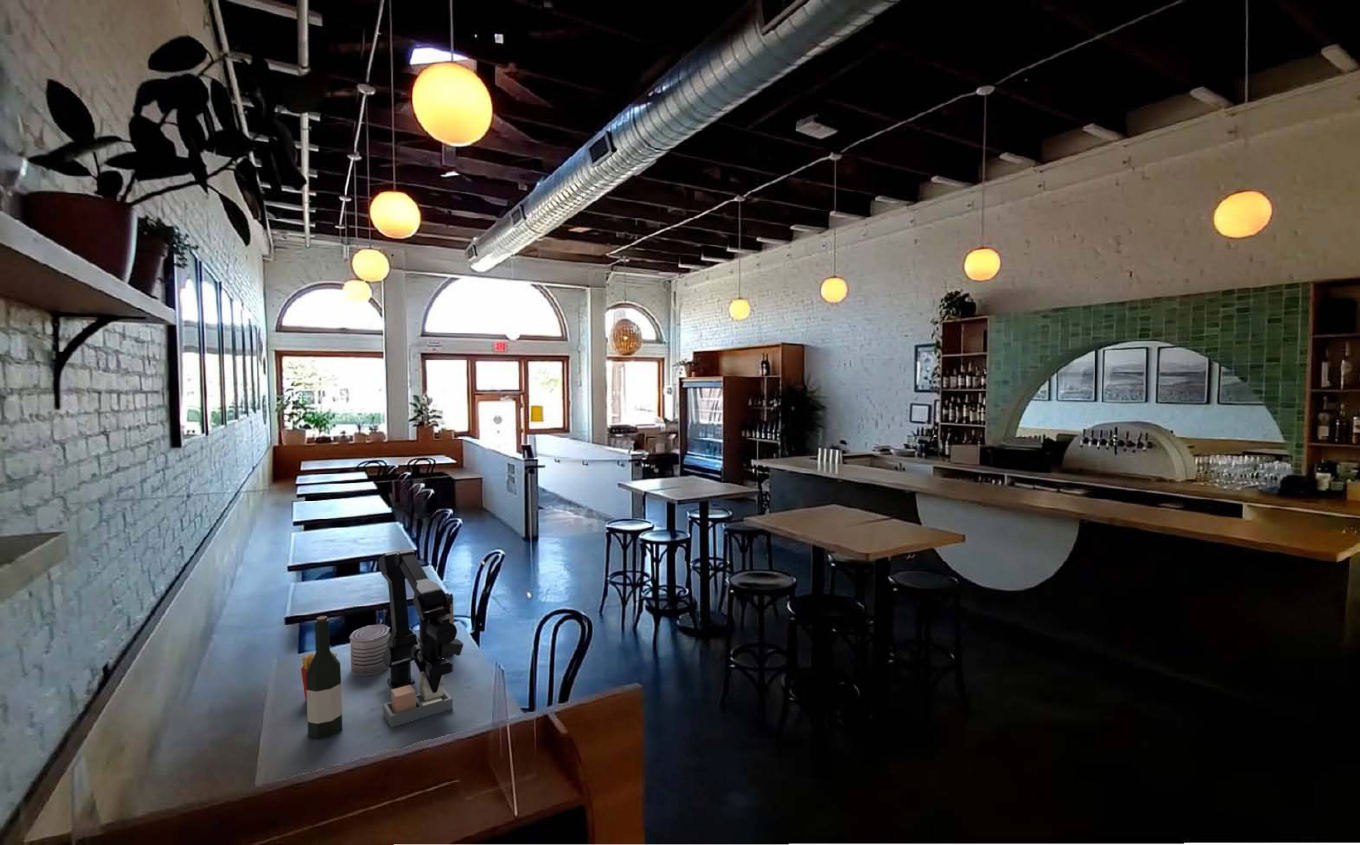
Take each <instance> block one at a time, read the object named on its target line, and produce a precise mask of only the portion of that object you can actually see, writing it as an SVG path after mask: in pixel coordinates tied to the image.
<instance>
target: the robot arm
mask: <svg viewBox="0 0 1360 845" xmlns="http://www.w3.org/2000/svg"><path fill="white" fill-rule="evenodd" d="M378 568H379V570H380V574H381V576H382V577H383V578H384V579H385V580H386V581H387V585H388V586H387V587H388V596H389V609H390V610H389V611H390V618H391V620H390V621H391V628H392V629H391V632H390V636H389V638H388V641H387V649H386V651H385V653H384V655H383V663H384V664H385V665H386V666H387V667H388V668H387V669H389V671H390V672H389V673H390V677H389V678H387V680H386V681H387V683H388V684H389V685H390V687H391V688H392V689H396V688H400V687H403V686H407V685H411V684H414V683H415V682H416V681H415V679H414V678H413V675H412V666H411V665H412V662H413V661H414V662H415V663H414V664H415V665H416V667H417V669H418V670H419V672H423V671H424V674H425V676H426V679H427V681H428V683H429V686H430V688H431V690H432V692H433V693H436V692H437V690H438V687H439V683H440V680H441V677H442V675H443V676H445V675H447V674H451V673H453V672H454V666H453V664H452V662H451V661H450V660H449V659H448V658H444V659H440V657H444V656H446V654H453V655H454V656H461V654H462V651H463V648H464V643H463V641H461V640H460V639H458V638H456V637H457V634H458V630H457V629H458V628H457V627H456V625H455V623H454V624H452V623H451V622H450V619H449V618H448V617H446V615H447V614H451V611H450V607H451V606H450V604H449V601H448V599H447V596H446V594H447V593H446V592H445V591H444V590H443V588H442V587H441V586H440V585H439V584H438V583H437V582H435V581H432V580H430V579H429V577H428V575H427V574H426V572H425V570H424V569H423V567H422V565H421V564H420V563H419V560H418V559H417V555H416V552H415V550H412V549H407V550H405V549H401V550H396V551H390V552H385V553H384V552H383V553H382V554H381V557H379V558H378ZM406 581H407V582H408V584H409V585H410V587H411V589H412V591H413V593H414V594H413V599H412V602H413V605H414V608H415V611H416V614H417V616H418V623H419V624H418V625H419V632H418V633H419V636H417V634H416V633H414V632H413V630H411V629H410V621H409V620H410V619H409V618H410V617H409V610H408V609H409V608H408V607H409V606H408V598H407V587H406ZM442 606H443V609H439V610H435V611H433V610H434V609H438V608H441V607H442Z"/></svg>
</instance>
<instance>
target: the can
mask: <svg viewBox="0 0 1360 845" xmlns="http://www.w3.org/2000/svg"><path fill="white" fill-rule="evenodd" d="M390 629H391V627H390V626H387V625H386V624H384V623H383V624H381V623H380V624H370V625H366V626H362V627H360V628H358V629H355V630H354V631H353V632H351V634H350V635H349V637H348V638H349V639H350V640H349V641H350V642H349V643H350V670H351V673H352V672H353V673H352V674H353V676H360V675H362V676H363V677H365V675H366V676H372V674H373V675H377V674H379V672H380V673H382V672H384V671H383V670H385V671H387V670H386V669H389V668H388V667H387V666H386V665H385V664H384V663H383V655H384V653H385V651H386V649H387V641H388V638H389V636H390V634H391V632H390ZM381 671H382V672H381ZM376 673H377V674H376Z"/></svg>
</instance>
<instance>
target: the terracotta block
mask: <svg viewBox="0 0 1360 845" xmlns="http://www.w3.org/2000/svg"><path fill="white" fill-rule="evenodd" d="M416 695H417V693H416V690H415V688H413V686H412V685H411V684H406V685H402V686H399V687H395V688H392V689H390V698H391V701H390V702H391V703H392V712H393V714H396V713H400V712H403V711H407V710H410V709H414V708H416Z"/></svg>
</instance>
